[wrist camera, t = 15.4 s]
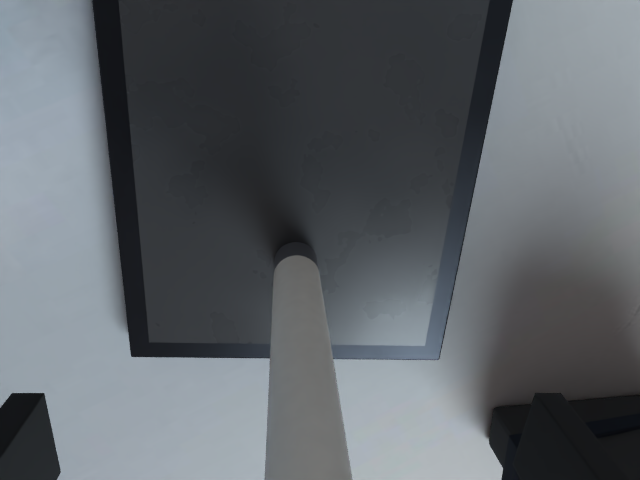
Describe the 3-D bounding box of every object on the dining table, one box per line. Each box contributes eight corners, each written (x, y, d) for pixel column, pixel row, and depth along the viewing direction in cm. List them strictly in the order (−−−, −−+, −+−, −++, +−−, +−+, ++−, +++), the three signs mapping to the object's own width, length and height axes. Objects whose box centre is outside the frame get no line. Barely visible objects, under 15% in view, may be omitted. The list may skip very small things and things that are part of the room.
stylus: (274, 240, 21) (261, 551, 8) (318, 242, 21) (374, 547, 8) (273, 279, 22) (259, 620, 9) (315, 280, 22) (362, 616, 9)
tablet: (83, -195, 15) (66, -216, 14) (528, -142, 17) (547, -156, 16) (137, 343, 24) (129, 358, 23) (432, 347, 25) (440, 361, 24)
